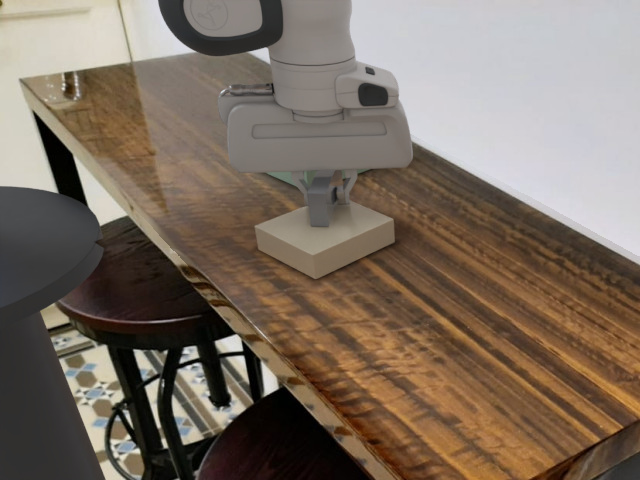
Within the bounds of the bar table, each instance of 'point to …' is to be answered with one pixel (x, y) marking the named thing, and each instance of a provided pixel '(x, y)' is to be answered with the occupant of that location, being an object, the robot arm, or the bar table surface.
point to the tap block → (325, 238)
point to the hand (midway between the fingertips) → (328, 203)
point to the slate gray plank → (323, 196)
